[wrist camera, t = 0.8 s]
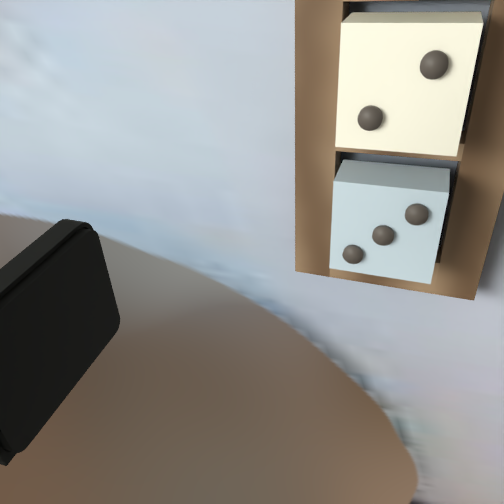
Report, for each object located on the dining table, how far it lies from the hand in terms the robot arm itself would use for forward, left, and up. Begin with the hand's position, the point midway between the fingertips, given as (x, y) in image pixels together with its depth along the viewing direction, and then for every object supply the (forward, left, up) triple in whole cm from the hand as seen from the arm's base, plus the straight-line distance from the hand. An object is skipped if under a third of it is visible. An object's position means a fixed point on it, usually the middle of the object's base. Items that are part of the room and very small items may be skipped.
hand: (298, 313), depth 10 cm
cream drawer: (-1, 0, -20) cm, 20 cm away
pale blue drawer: (-1, +8, -20) cm, 21 cm away
